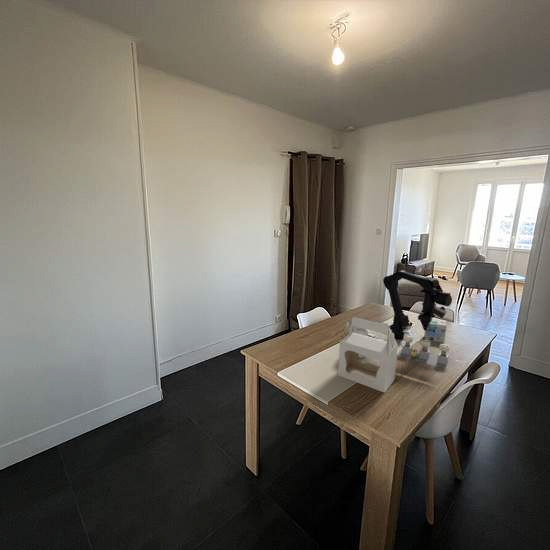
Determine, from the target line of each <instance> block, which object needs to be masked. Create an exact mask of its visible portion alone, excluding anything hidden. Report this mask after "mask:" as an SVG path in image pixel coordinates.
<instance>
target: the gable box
mask: <svg viewBox="0 0 550 550" xmlns="http://www.w3.org/2000/svg"><path fill="white" fill-rule="evenodd" d="M345 327H346V329H345V331H344V333H343V334H342V337H341V339H340V340H339V354H338V355H339V356H338V369H337V370H338V371H337V372H338V373H337V376H338V377H341V378H344V379H347V380H350V381H352V382H354V383H358V384H360V385H363V386H365V387H368V388H371V389H374V390H376V391H379V392H382V393H384V394H385V393H386V392H387V390H388V389H389V388H390V386H391V385H392V383H393V382H394V381H395V378H396V377H395V376H396V366H397V354H398V346H399V344H398V343H397V341H396V340H397V339H395V338H394V333H392V332H391V331H392V330H390V325H389V324H388V323H383V322H379V321H376V320H372V319H366V318H363V317H357V316H353V317H352V319H351V322H350V321H347V322H346V326H345ZM354 327H359V328H363V329H367V330H368V331H371V332H374V333H375V332H376V333H380V334H383V335H385V336H386V340H383V339H381V338H376V337H375V338H374V337H371V336H369V335H368V336H365V335H361V334H357V333H354ZM359 354H360V355H362V356H365V358H370V359H374V360H377V361H378V362H379V363H380V366H377V365H375V364H373V363H369V362H362V361H360V360H359V357H358V355H359Z"/></svg>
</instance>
